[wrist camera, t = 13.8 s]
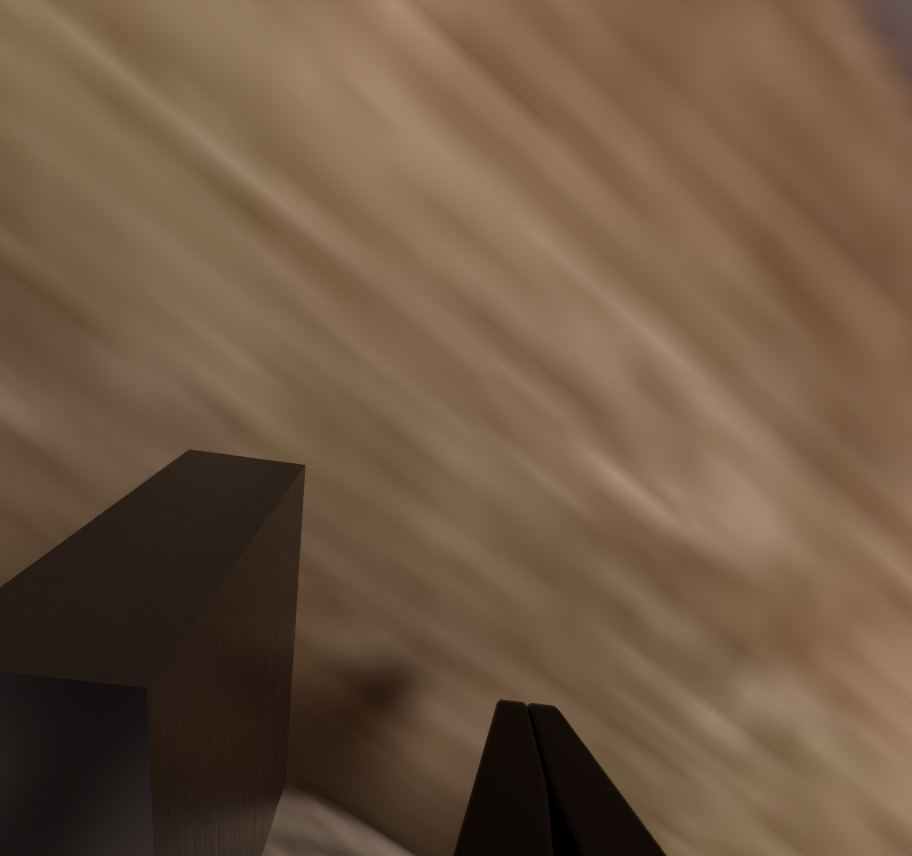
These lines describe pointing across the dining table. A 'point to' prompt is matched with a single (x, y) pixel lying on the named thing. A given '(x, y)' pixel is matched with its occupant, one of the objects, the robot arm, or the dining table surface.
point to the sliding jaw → (155, 669)
